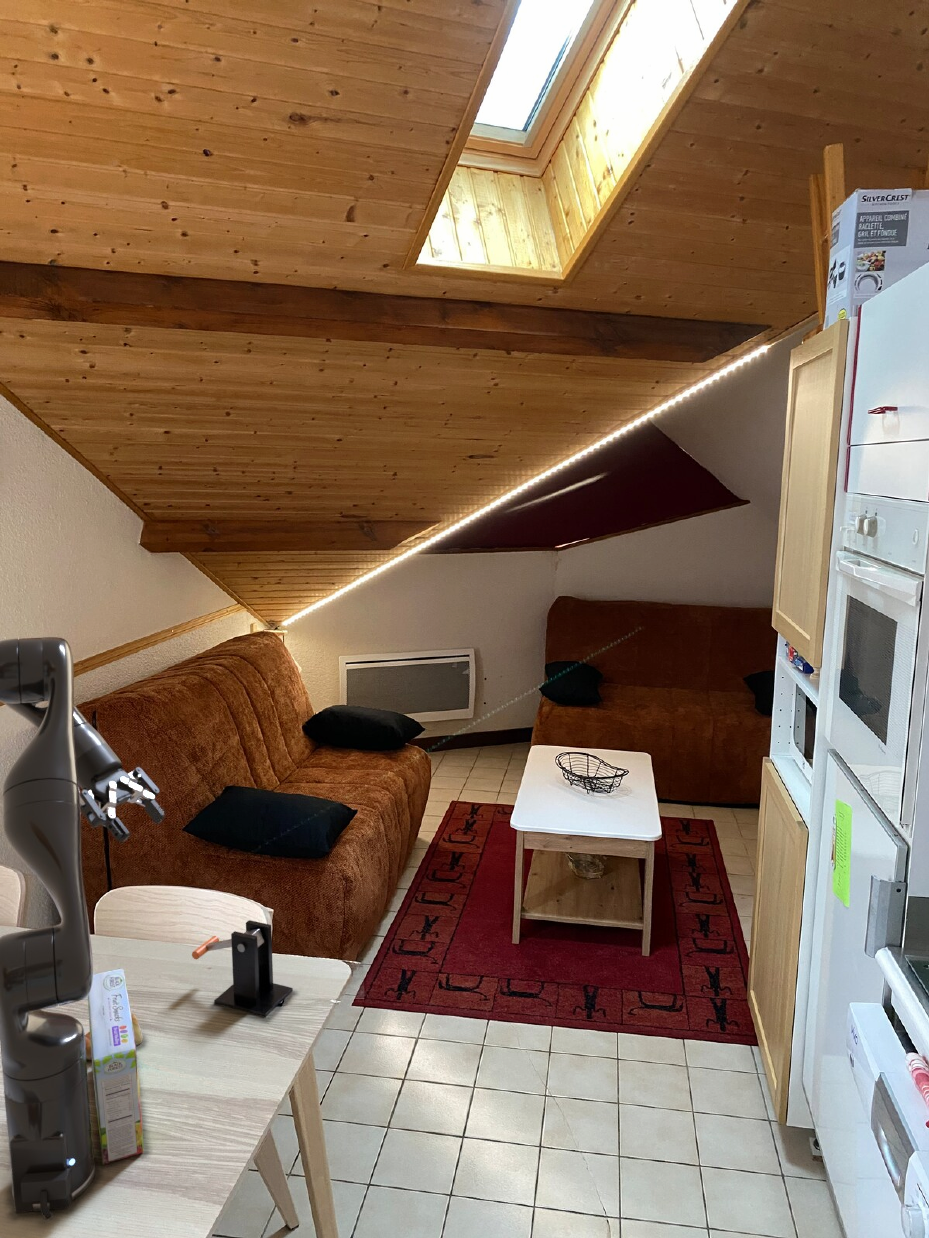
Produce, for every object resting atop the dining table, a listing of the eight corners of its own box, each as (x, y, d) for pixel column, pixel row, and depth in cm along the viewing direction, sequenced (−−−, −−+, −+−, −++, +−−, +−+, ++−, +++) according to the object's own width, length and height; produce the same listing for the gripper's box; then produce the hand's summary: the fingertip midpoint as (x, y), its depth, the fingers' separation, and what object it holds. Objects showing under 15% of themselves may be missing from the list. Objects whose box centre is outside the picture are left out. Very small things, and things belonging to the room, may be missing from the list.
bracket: (214, 1006, 149) (211, 934, 147) (243, 981, 156) (240, 912, 154) (265, 1020, 145) (263, 946, 143) (292, 994, 152) (290, 923, 150)
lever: (194, 962, 151) (189, 949, 151) (214, 946, 156) (210, 933, 156) (250, 953, 146) (246, 939, 146) (270, 937, 151) (265, 923, 151)
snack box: (91, 1068, 134) (85, 973, 131) (132, 1058, 136) (126, 965, 133) (99, 1167, 114) (92, 1059, 112) (146, 1153, 117) (139, 1047, 114)
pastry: (83, 1070, 133) (81, 1046, 132) (70, 1048, 138) (68, 1025, 138) (146, 1045, 139) (145, 1022, 138) (131, 1025, 144) (130, 1003, 143)
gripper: (65, 755, 147) (125, 832, 145) (128, 732, 160) (184, 802, 158) (43, 782, 150) (101, 858, 147) (106, 757, 163) (161, 826, 160)
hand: (144, 829), depth 153 cm, fingers open, 8 cm apart
